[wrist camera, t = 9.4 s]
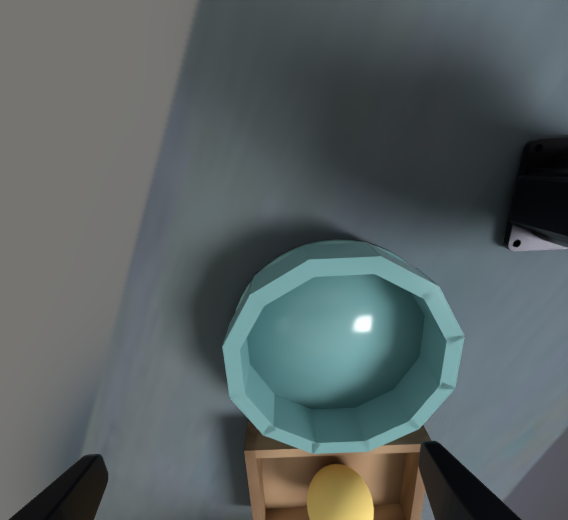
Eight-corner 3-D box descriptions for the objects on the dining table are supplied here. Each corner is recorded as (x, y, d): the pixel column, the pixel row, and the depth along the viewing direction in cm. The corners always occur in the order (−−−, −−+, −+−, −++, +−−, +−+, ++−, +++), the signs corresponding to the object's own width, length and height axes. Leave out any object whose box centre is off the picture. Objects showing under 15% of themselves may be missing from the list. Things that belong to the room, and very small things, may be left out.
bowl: (447, 234, 18) (482, 249, 15) (422, 409, 23) (445, 449, 20) (221, 244, 19) (208, 262, 15) (242, 416, 23) (236, 457, 20)
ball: (363, 446, 24) (386, 518, 19) (360, 488, 25) (381, 563, 21) (302, 451, 24) (310, 524, 19) (304, 493, 25) (311, 569, 21)
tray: (417, 413, 23) (432, 443, 21) (405, 501, 27) (417, 536, 24) (248, 420, 23) (244, 450, 21) (258, 507, 27) (255, 542, 24)
